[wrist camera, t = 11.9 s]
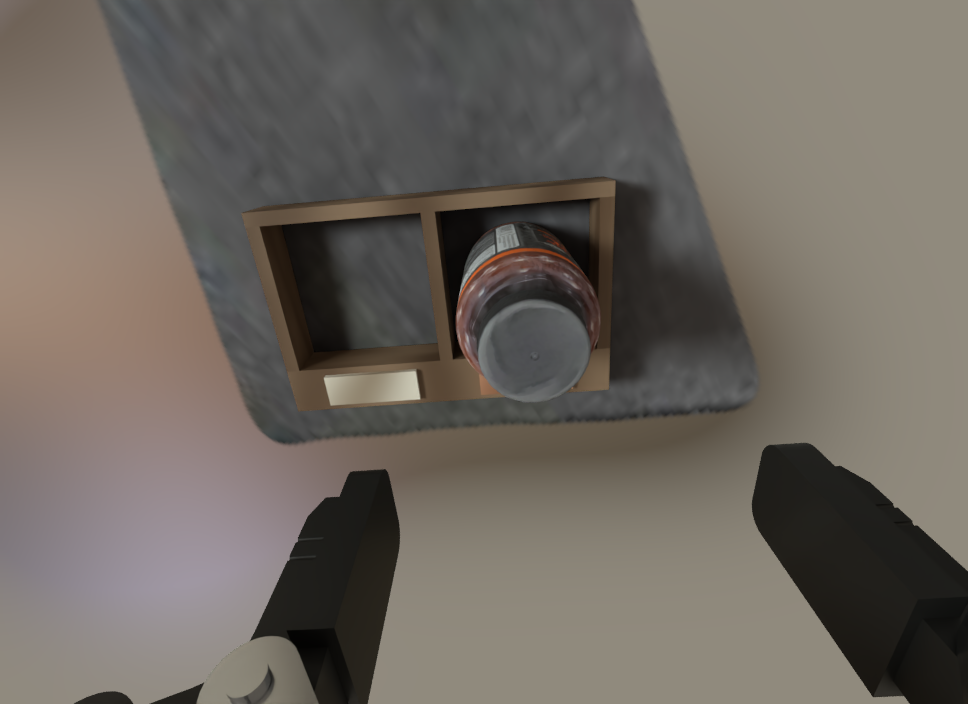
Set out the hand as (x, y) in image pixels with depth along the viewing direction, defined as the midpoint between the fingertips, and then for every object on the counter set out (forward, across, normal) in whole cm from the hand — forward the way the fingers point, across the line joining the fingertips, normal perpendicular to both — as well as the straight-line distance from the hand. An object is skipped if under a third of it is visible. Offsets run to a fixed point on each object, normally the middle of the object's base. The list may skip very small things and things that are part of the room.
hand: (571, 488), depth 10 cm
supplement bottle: (+18, 0, 0) cm, 18 cm away
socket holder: (+18, +4, +1) cm, 19 cm away
